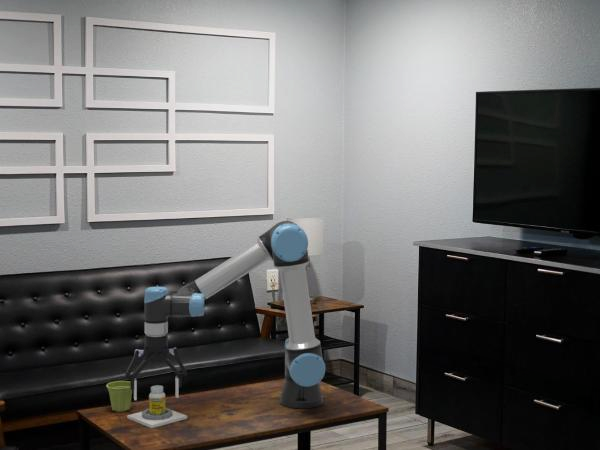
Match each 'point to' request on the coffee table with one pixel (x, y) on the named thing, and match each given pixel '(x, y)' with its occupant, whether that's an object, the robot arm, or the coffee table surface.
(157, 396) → the supplement bottle
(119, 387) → the plant pot
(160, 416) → the socket
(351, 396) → the coffee table surface
